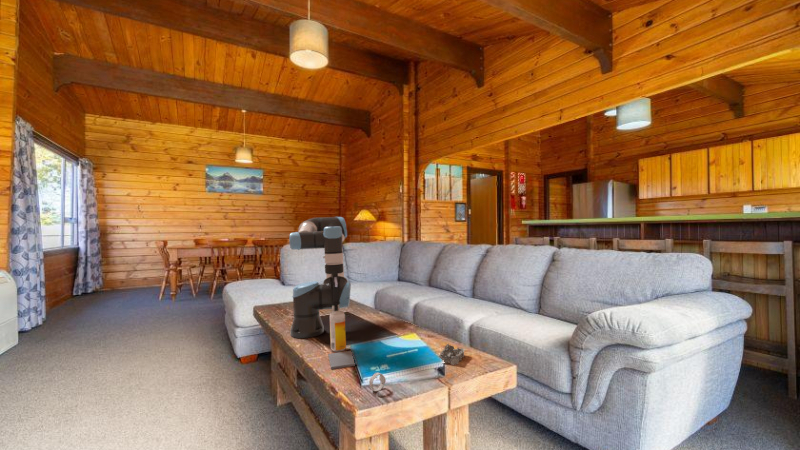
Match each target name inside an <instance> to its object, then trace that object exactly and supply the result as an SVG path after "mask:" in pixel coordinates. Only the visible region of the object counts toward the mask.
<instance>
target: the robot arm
mask: <svg viewBox="0 0 800 450" xmlns="http://www.w3.org/2000/svg"><path fill="white" fill-rule="evenodd" d="M347 237H348V230H347V223H346V220H345V218H344V217H342V216H330V217H329V216H328V217H327V216H326V217H321V216H320V217H312V218H308V219H307V220H304V221H302V222H301V223H300V224H299V226H298V230H297V231H295V232H291V233H289V239H288V240H289V248H290V250H297V251H300V250H312V249H313V250H314V249H315V250H316V249H324V256H322V258H323V259H324V263H325V265H324V272H325V275H326V278H324V280H323V283H322V284H320V283H319V281H318V280H317V281H307V282H303V283H300V284H296V285H295V286H294V287H293V288H292V301H293V302H292V303H293V304H292V305H293V319H292V323H291V327H290V330H289V331H290V332H289V333H290V336H291V337H292V338H295V339H307V338H313V337H318V336H320V335H322V334H324V332H325V327H324V323H323V320H322V318H321V314H320V310H321V311H323V310H332V311H331V312H333V311H340V309H344V308H348V307H349V306H350V301H351V288H352V287H351V286H352V283H351V282H349V281H348V278H346V277H345V270H344V252H343V249H344V248H343V242H344V241H345V239H346V238H347Z"/></svg>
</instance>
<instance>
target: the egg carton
mask: <svg viewBox="0 0 800 450" xmlns="http://www.w3.org/2000/svg"><path fill="white" fill-rule="evenodd" d="M465 350H466V349H465V348H462V347H461V348H460V347H457V349H456V348H455V347H454V346H453V345H451V344H450V343H446V344H445V346H444V348H443V349H442V351H441V352H440V353H439V356H438V358H439V359H440V358H441V359H442V360H444V362H445V364H450V365H452V366H454V365H459V364H460V363H459V362H462V358H464V357H465Z"/></svg>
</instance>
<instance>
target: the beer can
mask: <svg viewBox="0 0 800 450" xmlns="http://www.w3.org/2000/svg"><path fill="white" fill-rule="evenodd" d="M346 334H347V333H346V314H345V312H344V310H339V311H333V312H332V311H331V312H330V314H329V338H330V349H331V350H332V351H333V353H339V352H344V351H345V349H346V348H347V337H346V336H347V335H346Z"/></svg>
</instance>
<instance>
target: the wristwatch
mask: <svg viewBox="0 0 800 450" xmlns="http://www.w3.org/2000/svg"><path fill="white" fill-rule="evenodd" d="M377 377H378V379H379V381H380V384H379V386H378V387H376V388H374V381H375V379H376V378H377ZM386 382H387V381H386V377H385V376H384V375H383V374H382V373H380V372H375V373H374V374H373V375H372V376H371V377H370V378H369V383H368V384H369V388H370V390H372V391H373V392H380V391H381V390H382V389H383V388H384V385H385V384H386Z"/></svg>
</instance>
